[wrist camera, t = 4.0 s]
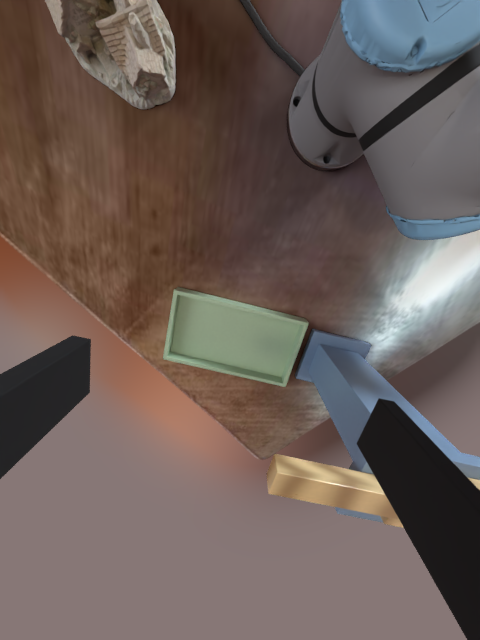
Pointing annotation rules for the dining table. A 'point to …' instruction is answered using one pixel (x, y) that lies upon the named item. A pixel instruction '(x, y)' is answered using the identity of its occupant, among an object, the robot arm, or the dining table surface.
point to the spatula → (331, 487)
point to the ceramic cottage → (121, 46)
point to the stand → (362, 399)
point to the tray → (232, 337)
